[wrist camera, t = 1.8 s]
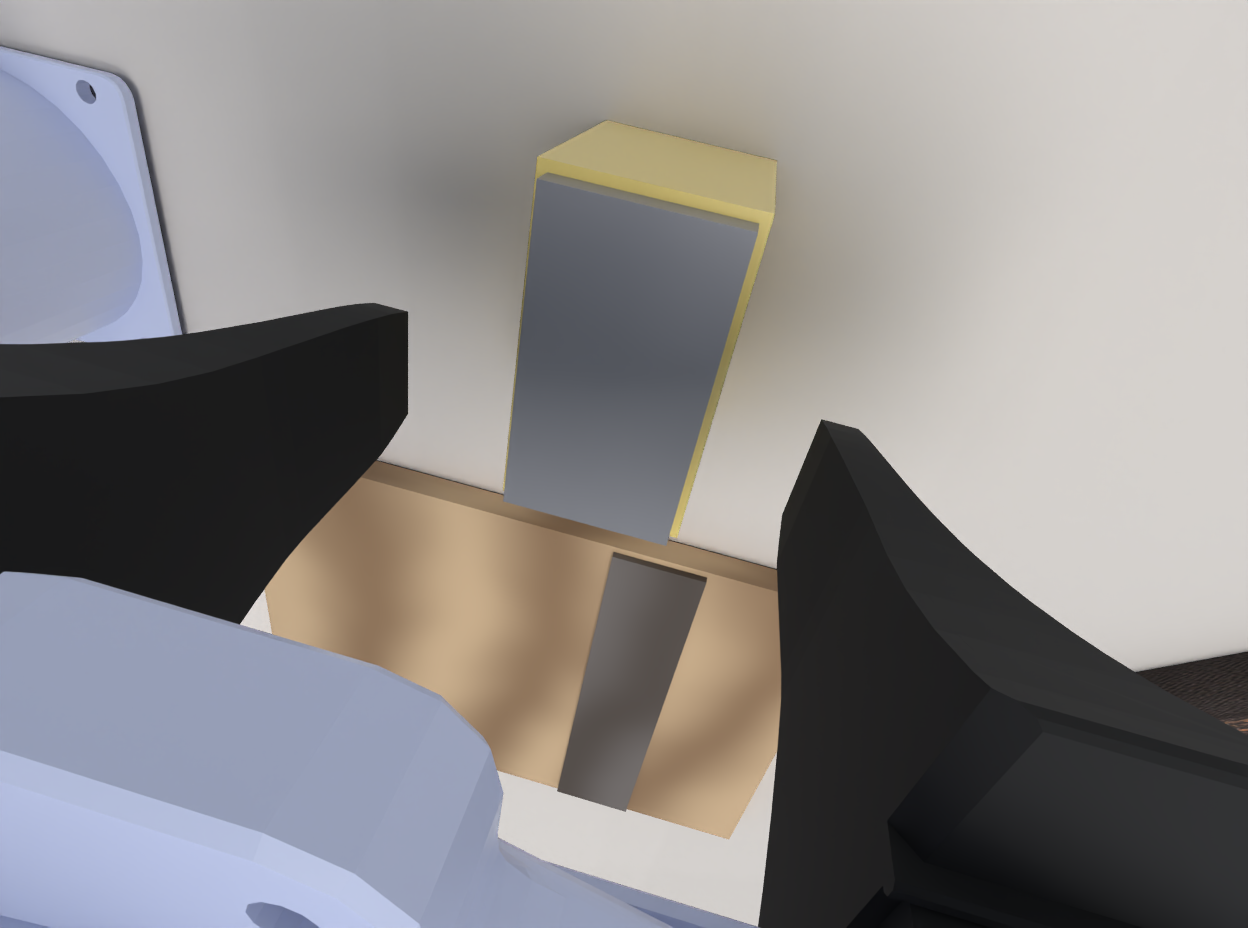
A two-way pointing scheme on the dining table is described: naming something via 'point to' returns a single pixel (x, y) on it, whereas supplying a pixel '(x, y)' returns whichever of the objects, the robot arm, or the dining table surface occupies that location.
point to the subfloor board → (553, 640)
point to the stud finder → (630, 322)
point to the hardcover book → (1209, 686)
